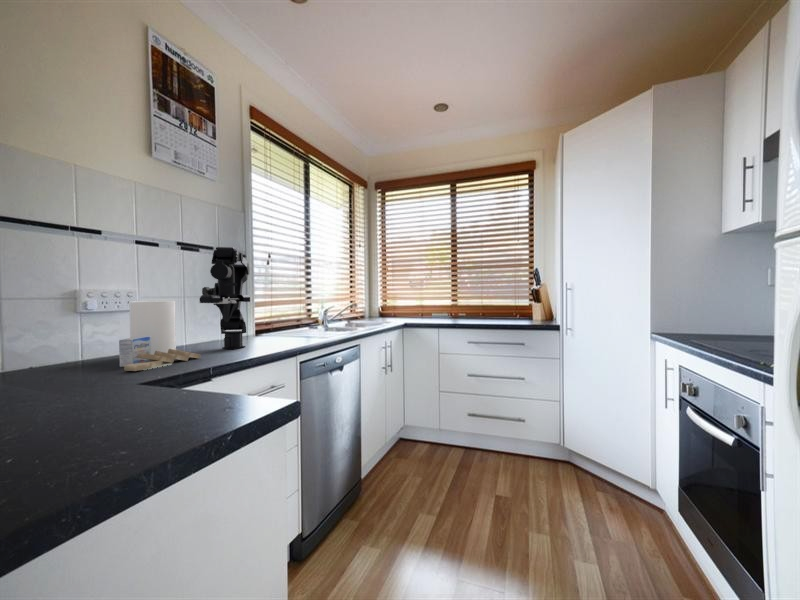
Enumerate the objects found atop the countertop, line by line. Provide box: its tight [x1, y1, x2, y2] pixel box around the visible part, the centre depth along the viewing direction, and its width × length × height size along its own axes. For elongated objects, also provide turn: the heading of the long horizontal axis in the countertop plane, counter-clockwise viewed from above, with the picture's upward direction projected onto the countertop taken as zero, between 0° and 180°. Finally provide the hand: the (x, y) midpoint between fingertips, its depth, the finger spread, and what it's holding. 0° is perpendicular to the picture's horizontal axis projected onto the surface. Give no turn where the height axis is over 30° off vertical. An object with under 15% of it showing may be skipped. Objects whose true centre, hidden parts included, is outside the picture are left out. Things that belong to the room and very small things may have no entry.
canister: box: [129, 300, 177, 355], centre depth 129 cm, size 14×14×20 cm
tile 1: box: [168, 349, 202, 359], centre depth 122 cm, size 1×4×9 cm
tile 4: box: [123, 360, 164, 372], centre depth 108 cm, size 1×4×9 cm
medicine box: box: [118, 336, 151, 368], centre depth 115 cm, size 8×4×9 cm, turn 179°
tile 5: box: [143, 362, 173, 371], centre depth 111 cm, size 1×4×9 cm
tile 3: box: [137, 353, 175, 364], centre depth 113 cm, size 1×4×9 cm
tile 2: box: [154, 351, 190, 362], centre depth 118 cm, size 1×4×9 cm
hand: (226, 321), depth 135 cm, fingers closed
